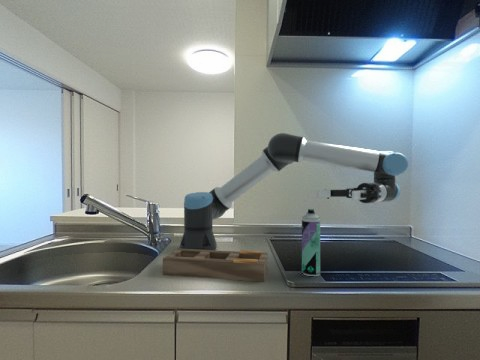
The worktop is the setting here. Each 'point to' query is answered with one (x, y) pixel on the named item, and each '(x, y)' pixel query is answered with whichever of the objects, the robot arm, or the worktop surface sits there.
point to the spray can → (311, 244)
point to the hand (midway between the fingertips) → (334, 194)
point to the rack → (217, 264)
